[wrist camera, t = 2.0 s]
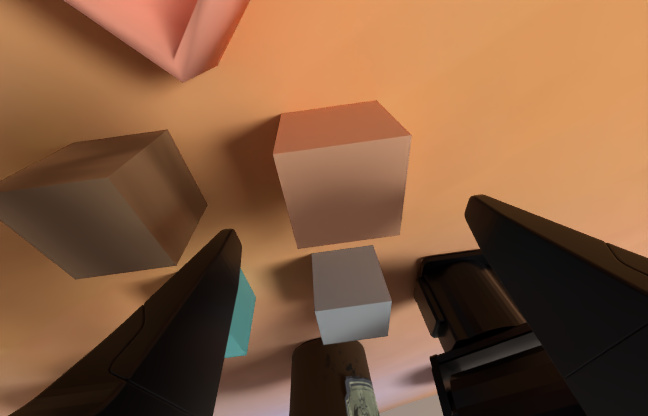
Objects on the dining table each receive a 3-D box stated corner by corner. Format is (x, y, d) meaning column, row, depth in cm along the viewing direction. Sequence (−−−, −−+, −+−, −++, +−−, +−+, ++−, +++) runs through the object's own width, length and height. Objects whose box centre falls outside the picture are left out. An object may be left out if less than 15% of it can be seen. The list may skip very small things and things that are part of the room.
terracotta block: (376, 100, 12) (411, 135, 8) (374, 181, 15) (399, 234, 12) (281, 113, 12) (272, 154, 8) (298, 191, 15) (297, 248, 12)
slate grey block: (372, 244, 19) (391, 301, 15) (371, 280, 22) (387, 336, 18) (311, 252, 19) (314, 311, 15) (319, 288, 22) (323, 344, 18)
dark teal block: (238, 262, 19) (222, 324, 15) (256, 296, 22) (246, 355, 18) (177, 271, 19) (146, 334, 15) (203, 303, 22) (182, 363, 18)
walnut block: (168, 128, 12) (107, 177, 9) (207, 204, 16) (176, 265, 12) (74, 142, 12) (-30, 196, 9) (132, 214, 16) (75, 279, 12)
